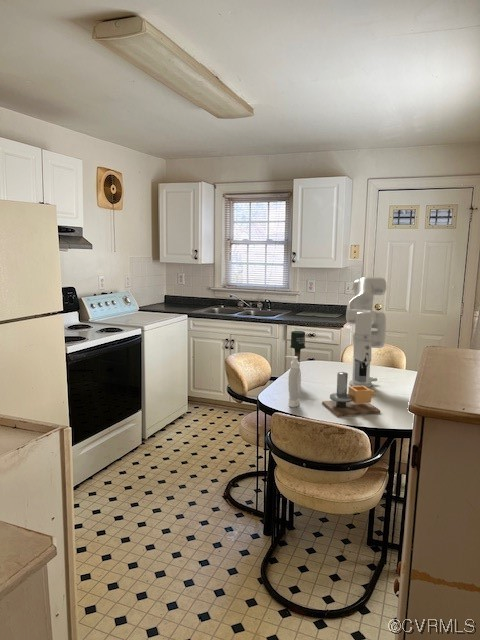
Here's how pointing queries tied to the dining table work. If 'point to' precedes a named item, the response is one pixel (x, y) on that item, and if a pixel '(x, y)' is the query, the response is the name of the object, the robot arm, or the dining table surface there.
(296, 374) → the soap bottle
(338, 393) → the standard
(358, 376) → the dark gray block
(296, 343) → the potato masher grenade
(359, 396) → the orange open box
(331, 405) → the base plate
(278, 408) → the dining table surface
